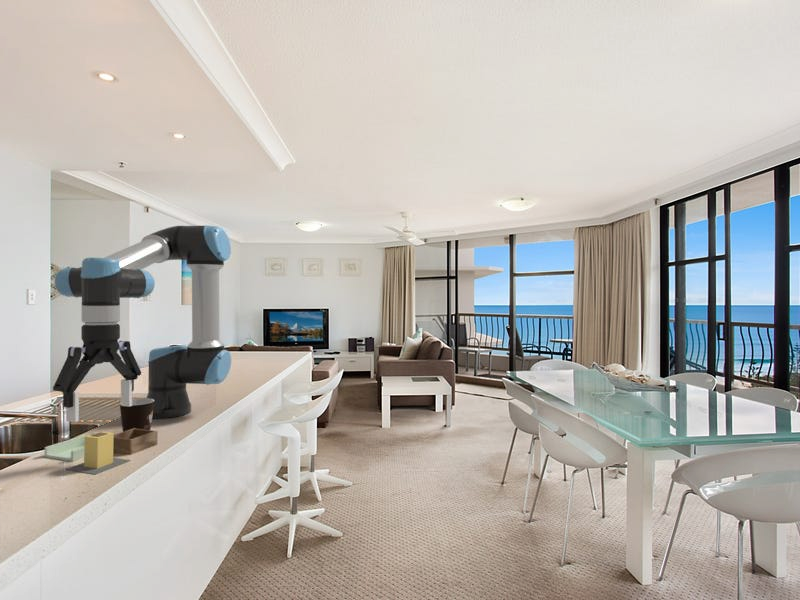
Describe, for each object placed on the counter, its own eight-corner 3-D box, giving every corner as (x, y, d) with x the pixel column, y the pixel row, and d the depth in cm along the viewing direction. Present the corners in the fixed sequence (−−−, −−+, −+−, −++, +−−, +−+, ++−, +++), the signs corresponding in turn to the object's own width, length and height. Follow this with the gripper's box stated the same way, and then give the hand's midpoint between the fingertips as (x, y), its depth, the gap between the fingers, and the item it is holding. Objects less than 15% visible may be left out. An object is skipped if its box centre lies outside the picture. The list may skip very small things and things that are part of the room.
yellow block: (100, 460, 106) (100, 431, 106) (113, 462, 105) (113, 432, 105) (84, 466, 102) (84, 435, 102) (97, 468, 101) (97, 437, 101)
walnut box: (133, 442, 120) (134, 428, 120) (157, 445, 118) (157, 431, 118) (107, 452, 113) (107, 436, 113) (131, 455, 111) (131, 440, 111)
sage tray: (92, 443, 120) (92, 432, 120) (119, 446, 117) (119, 436, 117) (44, 458, 108) (44, 447, 108) (73, 463, 105) (73, 451, 105)
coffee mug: (137, 442, 121) (138, 406, 121) (111, 440, 123) (112, 404, 123) (168, 430, 132) (168, 397, 132) (143, 428, 134) (144, 395, 134)
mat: (101, 458, 109) (101, 456, 109) (130, 462, 106) (130, 460, 106) (65, 471, 100) (65, 469, 100) (95, 476, 98) (95, 474, 98)
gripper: (134, 319, 116) (134, 399, 117) (32, 326, 92) (32, 426, 93) (156, 320, 114) (156, 401, 115) (58, 328, 90) (58, 430, 91)
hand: (101, 413), depth 104 cm, fingers open, 13 cm apart
